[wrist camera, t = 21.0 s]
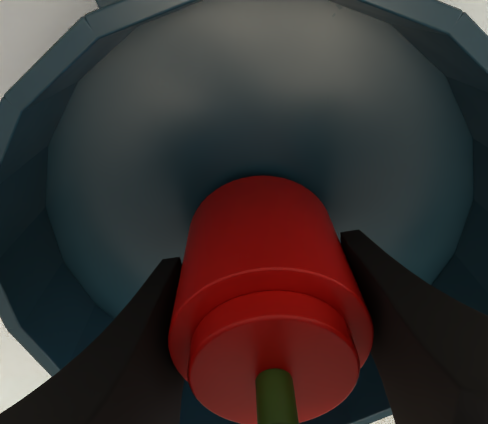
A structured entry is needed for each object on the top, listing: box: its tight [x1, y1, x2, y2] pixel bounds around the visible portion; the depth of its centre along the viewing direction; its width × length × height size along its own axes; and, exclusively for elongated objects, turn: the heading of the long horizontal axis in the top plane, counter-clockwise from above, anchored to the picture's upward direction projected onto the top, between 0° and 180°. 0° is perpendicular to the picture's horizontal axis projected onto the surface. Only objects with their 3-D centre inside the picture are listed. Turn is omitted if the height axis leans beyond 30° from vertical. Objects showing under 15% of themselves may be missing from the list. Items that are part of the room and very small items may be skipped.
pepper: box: [168, 175, 374, 424], centre depth 11 cm, size 5×5×7 cm
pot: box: [0, 0, 488, 424], centre depth 13 cm, size 17×22×4 cm
